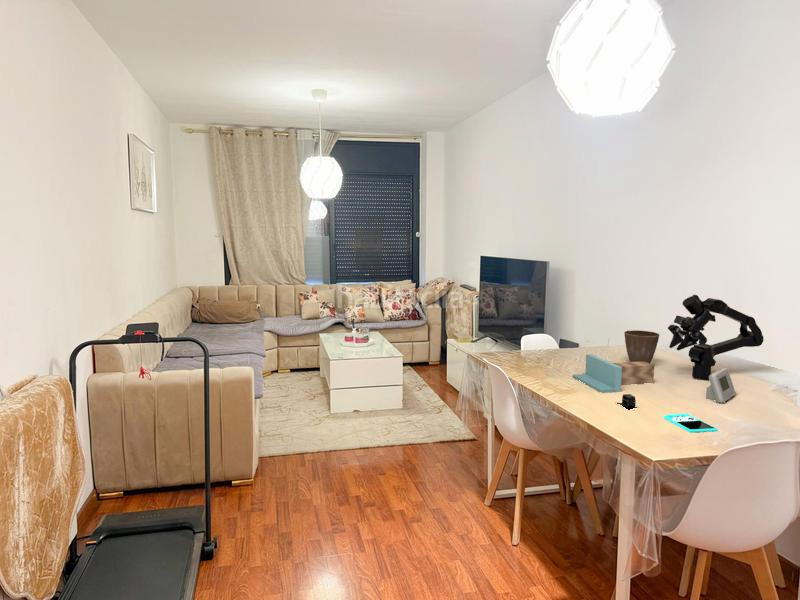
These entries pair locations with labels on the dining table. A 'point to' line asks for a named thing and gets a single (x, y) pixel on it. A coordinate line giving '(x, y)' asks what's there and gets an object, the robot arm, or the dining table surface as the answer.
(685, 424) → the handheld game console
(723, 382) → the digital clock
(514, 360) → the dining table surface
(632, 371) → the walnut block
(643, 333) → the plant pot
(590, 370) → the teal board
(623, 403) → the black block on plate
